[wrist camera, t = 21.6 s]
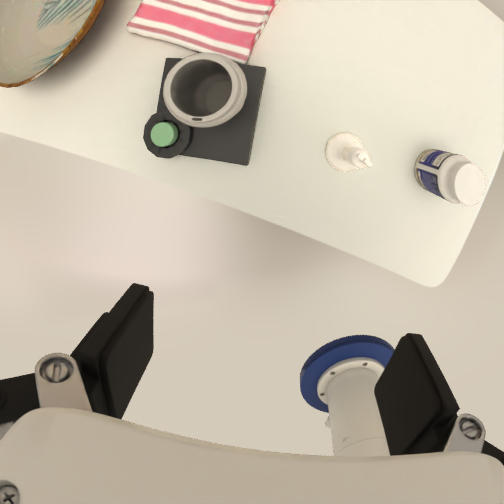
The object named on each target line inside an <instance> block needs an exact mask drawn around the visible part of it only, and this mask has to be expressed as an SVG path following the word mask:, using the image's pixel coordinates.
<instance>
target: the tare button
mask: <svg viewBox="0 0 504 504" xmlns="http://www.w3.org/2000/svg"><path fill="white" fill-rule="evenodd" d="M177 138H178V129H177V127H176V126H175V125H174V124H173V123H170V122H161V123H158V124H156V125H155V126H154V127H153V129H152V131H151V139H152V141H153V143H154V144H155V145H157V146H160V147H164V146H168V145H171V144H173V143H174V142H175V141H176V140H177Z"/></svg>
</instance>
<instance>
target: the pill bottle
mask: <svg viewBox="0 0 504 504" xmlns="http://www.w3.org/2000/svg"><path fill="white" fill-rule="evenodd" d="M415 174H416V178H417V181H418V182H419V184H420V185H421V186H422V187H423V188H424V189H426V190H427V191H429V192H432V193H434V194H436V195H437V196H439V197H441V198H443V199H445V200H447V201H449V202H452V203H462V204H464V205H467V206H471V205H475V204H476V203H478V202H479V201H480V200H481V199H482V197H483V195H484V193H485V189H486V179H485V175H484V173H483V171H482V169H481V168H480V167H479V166H478V165H476V164H474V163H471V162H470V161H469V160H468V159H467V158H466V157H464V156H461V155H458V154H453V153H449V152H444V151H440V150H434V149H431V150H427V151H425V152H423V153H422V154H421V155H420V156H419V158H418V160H417V162H416V166H415Z"/></svg>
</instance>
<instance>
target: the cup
mask: <svg viewBox="0 0 504 504" xmlns="http://www.w3.org/2000/svg"><path fill="white" fill-rule="evenodd" d="M246 95H247V81H246V78H245V75H244V73H243V71H242V70H241V68H240V67H239V66H238V65H237V64H236V63H235V62H234V61H233V60H231V59H230V58H228V57H226V56H224V55H221V54H217V53H198V54H194V55H191V56H188V57H186V58H184V59H183V60H181V61H180V62H178V63H177V64H176V65H175V66H174V67H173V68H172V69H171V70H170V72H169V73H168V75H167V77H166V80H165V83H164V87H163V96H164V101H165V104H166V106H167V108H168V110H169V111H170V112H171V114H172V115H173V116H174V117H175V118H176V119H178V120H179V121H181V122H182V123H184V124H187V125H190V126H193V127H202V128H204V127H213V126H217V125H220V124H222V123H224V122H226V121H228V120H229V119H231V118H232V117H233V116H234V115H236V114H237V113H238V112H239V111H240V110H241V109H242V107H243V105H244V101H245V99H246Z"/></svg>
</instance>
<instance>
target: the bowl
mask: <svg viewBox="0 0 504 504" xmlns="http://www.w3.org/2000/svg"><path fill="white" fill-rule="evenodd" d="M104 2H105V0H0V86H1V87H6V88H9V87H18V86H21V85H23V84H25V83H28V82H31V81H32V80H34V79H35V78H37V77H39V76H40V75H42V74H43V73H45V72H47V71H48V70H50V69H51V68H53V67H54V66H55V65H57V64H58V63H59V62H60V61H61V60H63V59H64V58H65V57H66V56H67V55H68V54H69V53H70V52H71V51H72V50H73V49H74V48H75V47H76V46H77V45H78V44H79V43H80V42H81V40H82V39H83V38H84V36H85V35H86V34H87V33H88V31H89V30H90V28H91V27H92V25H93V24H94V22H95V20H96V19H97V17H98V15H99V13H100V11H101V9H102V7H103V5H104Z"/></svg>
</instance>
